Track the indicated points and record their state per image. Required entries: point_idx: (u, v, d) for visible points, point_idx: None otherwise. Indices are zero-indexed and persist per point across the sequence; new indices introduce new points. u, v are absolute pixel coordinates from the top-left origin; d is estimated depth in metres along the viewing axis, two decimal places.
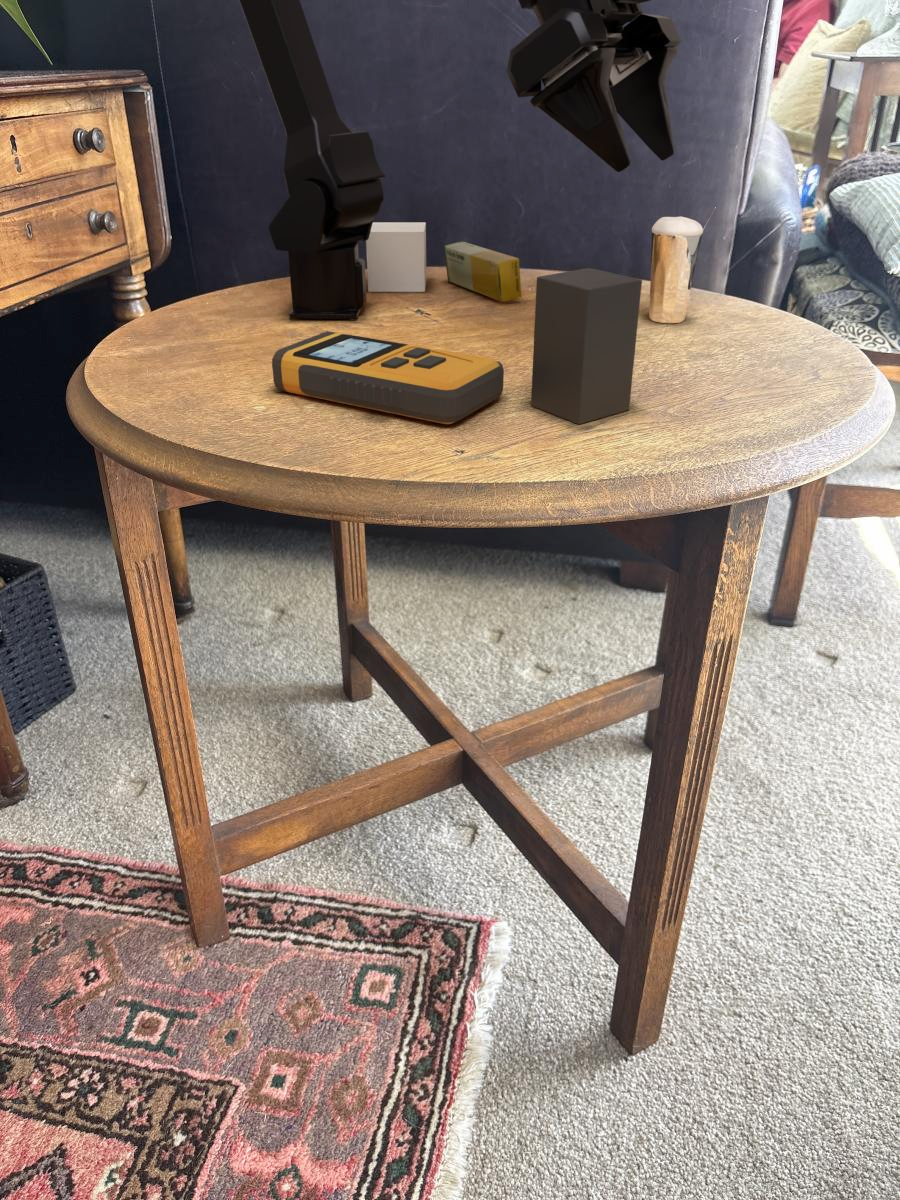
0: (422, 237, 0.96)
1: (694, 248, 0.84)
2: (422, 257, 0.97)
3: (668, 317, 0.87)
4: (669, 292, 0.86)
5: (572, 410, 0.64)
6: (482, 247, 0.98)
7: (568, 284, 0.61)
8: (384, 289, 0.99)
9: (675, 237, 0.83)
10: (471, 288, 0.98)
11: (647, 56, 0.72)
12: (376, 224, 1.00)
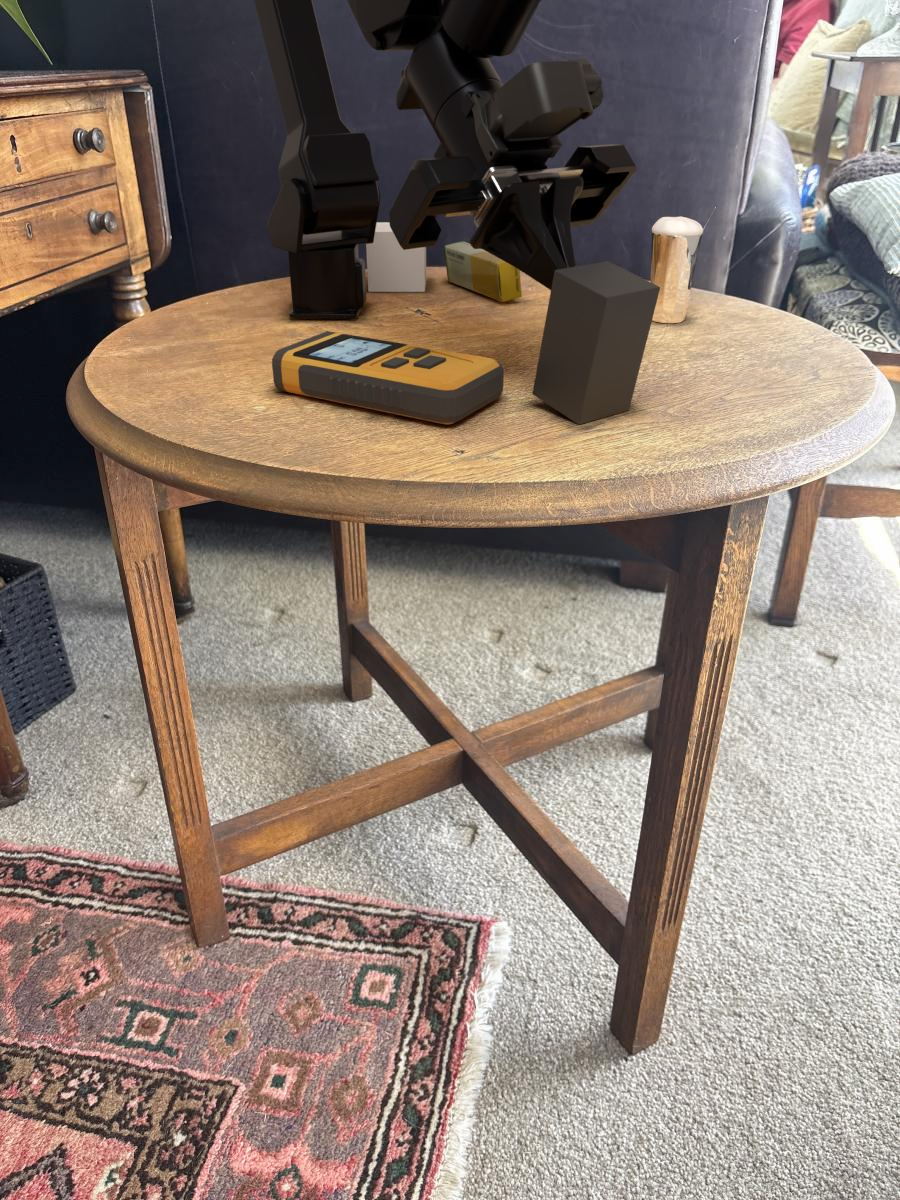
0: None
1: (694, 248, 0.84)
2: (422, 257, 0.97)
3: (668, 317, 0.87)
4: (669, 292, 0.86)
5: (573, 409, 0.64)
6: None
7: (586, 287, 0.60)
8: (384, 289, 0.99)
9: (675, 237, 0.83)
10: (471, 288, 0.98)
11: (544, 192, 0.65)
12: (376, 224, 1.00)
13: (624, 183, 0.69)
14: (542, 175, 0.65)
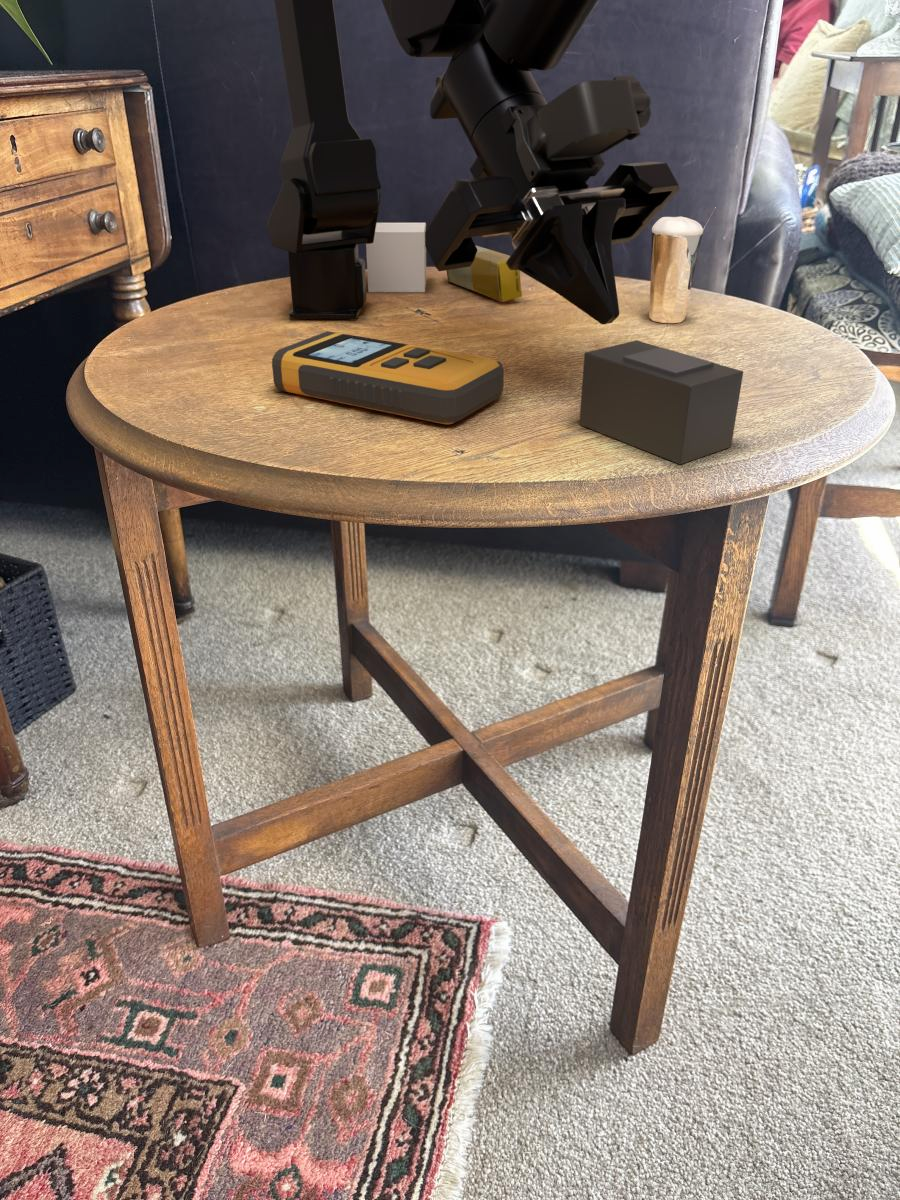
0: (422, 237, 0.96)
1: (694, 248, 0.84)
2: (422, 257, 0.97)
3: (668, 317, 0.87)
4: (669, 292, 0.86)
5: (588, 417, 0.63)
6: (482, 247, 0.98)
7: (684, 436, 0.57)
8: (384, 289, 0.99)
9: (675, 237, 0.83)
10: (471, 288, 0.98)
11: (585, 212, 0.63)
12: (376, 224, 1.00)
13: (665, 202, 0.67)
14: (583, 195, 0.63)
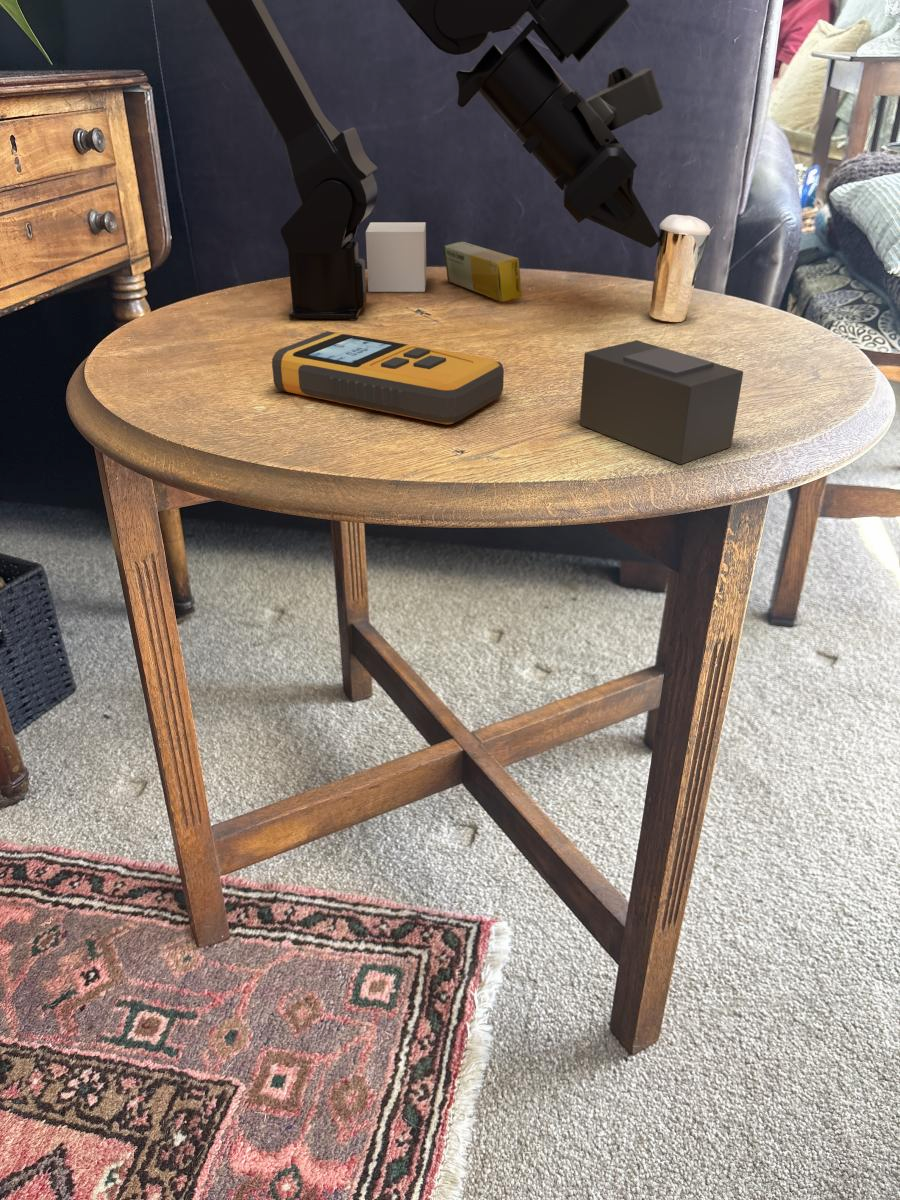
0: (422, 237, 0.96)
1: (700, 248, 0.84)
2: (422, 257, 0.97)
3: (669, 315, 0.87)
4: (672, 290, 0.86)
5: (588, 417, 0.63)
6: (482, 247, 0.98)
7: (684, 436, 0.57)
8: (384, 289, 0.99)
9: (683, 235, 0.83)
10: (471, 288, 0.98)
11: None
12: (376, 224, 1.00)
13: None
14: None
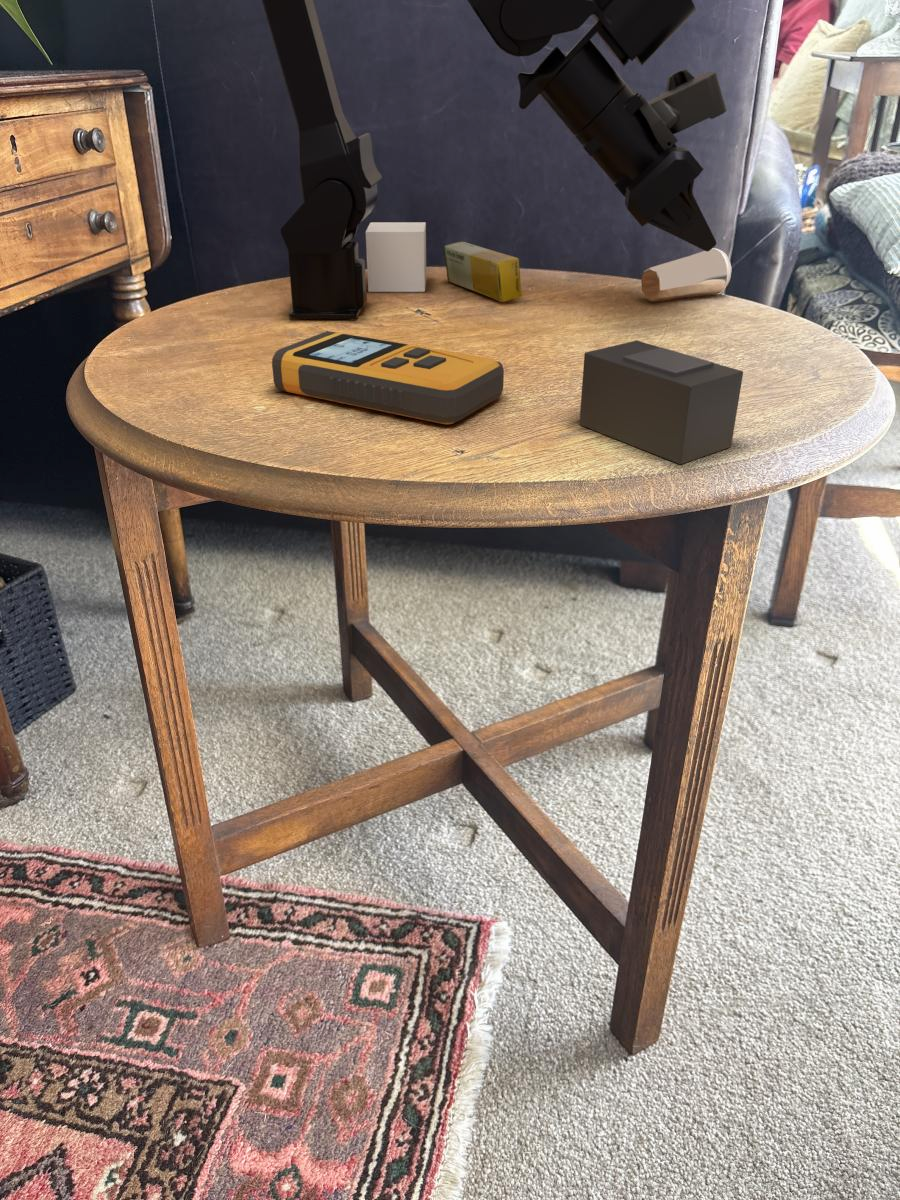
0: (422, 237, 0.96)
1: None
2: (422, 257, 0.97)
3: None
4: None
5: (588, 417, 0.63)
6: (482, 247, 0.98)
7: (684, 436, 0.57)
8: (384, 289, 0.99)
9: None
10: (471, 288, 0.98)
11: None
12: (376, 224, 1.00)
13: None
14: None
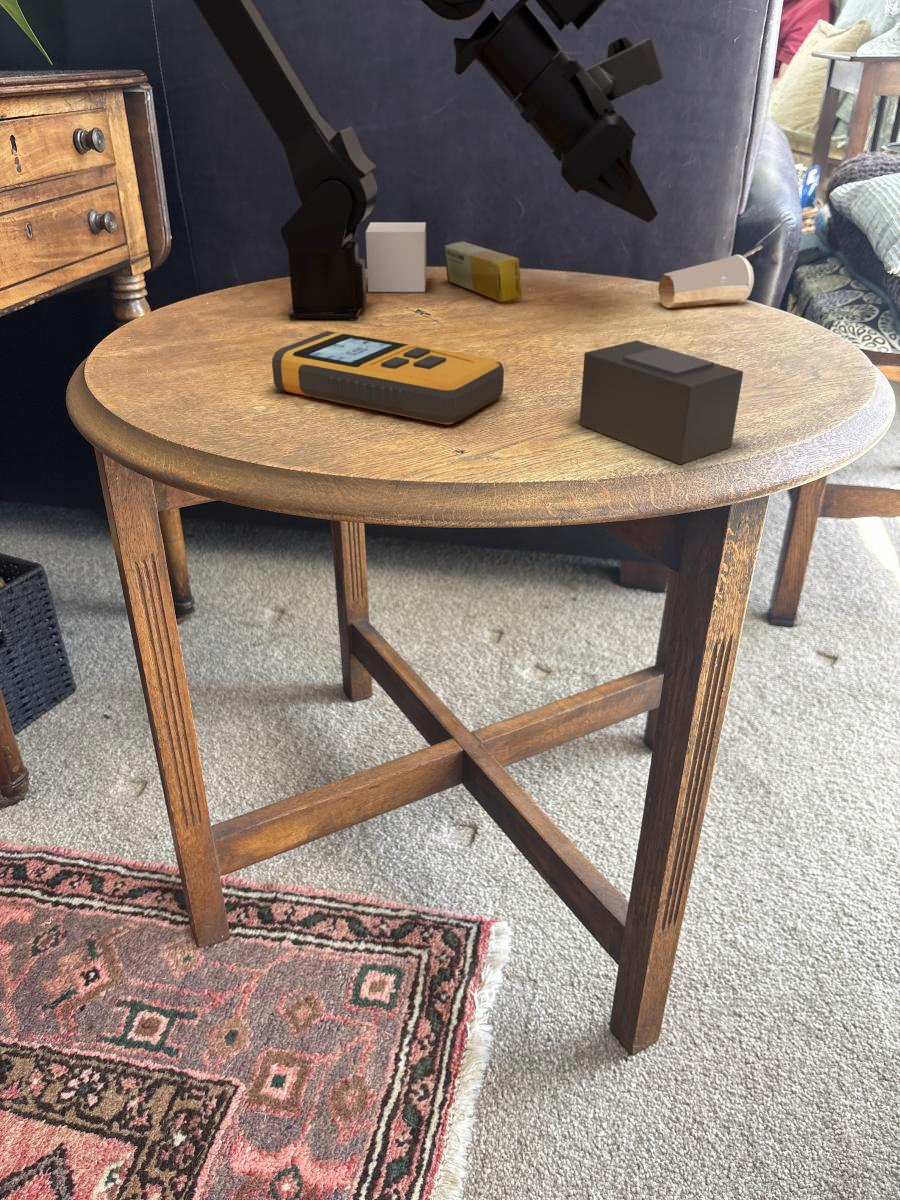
0: (422, 237, 0.96)
1: None
2: (422, 257, 0.97)
3: None
4: None
5: (588, 417, 0.63)
6: (482, 247, 0.98)
7: (684, 436, 0.57)
8: (384, 289, 0.99)
9: None
10: (471, 288, 0.98)
11: None
12: (376, 224, 1.00)
13: None
14: None
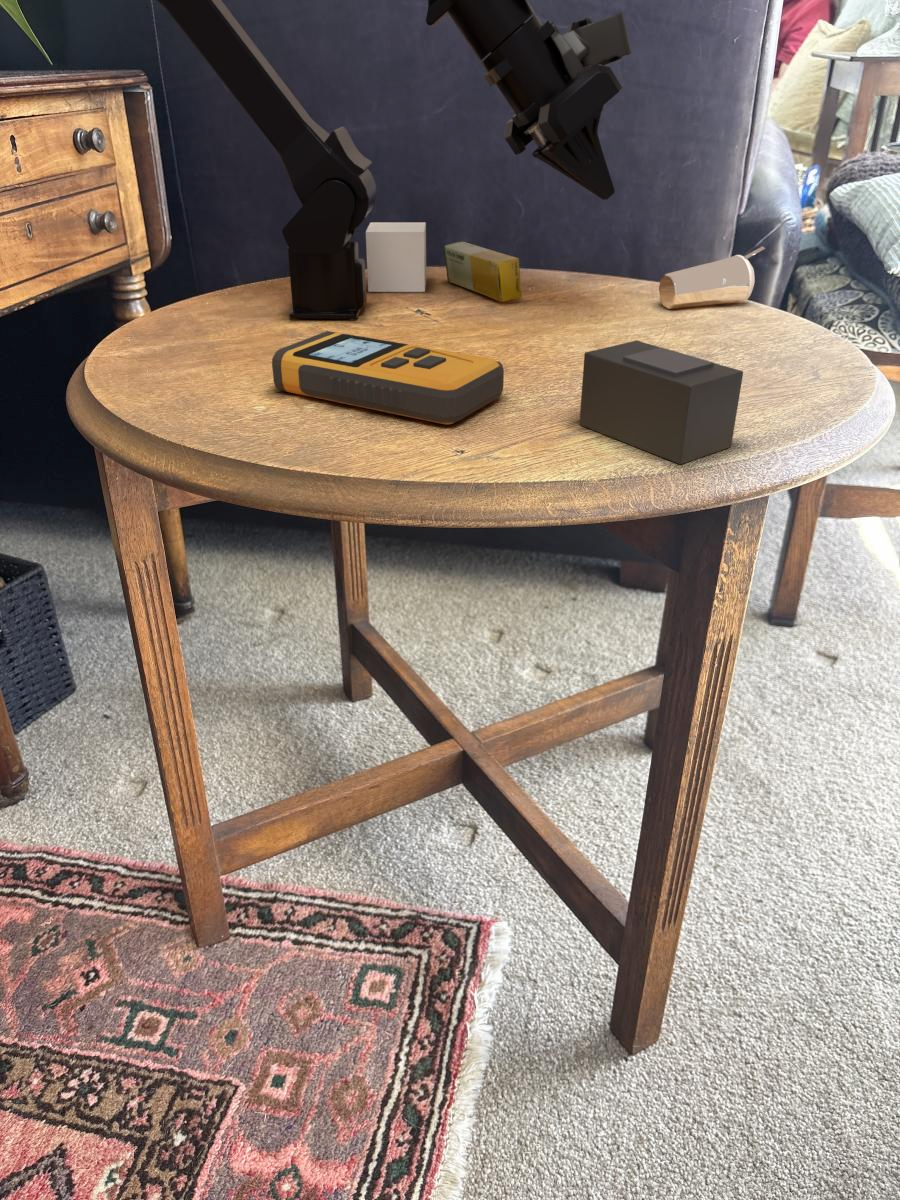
0: (422, 237, 0.96)
1: None
2: (422, 257, 0.97)
3: None
4: None
5: (588, 417, 0.63)
6: (481, 247, 0.98)
7: (684, 436, 0.57)
8: (384, 289, 0.99)
9: None
10: (471, 288, 0.98)
11: None
12: (376, 224, 1.00)
13: None
14: None
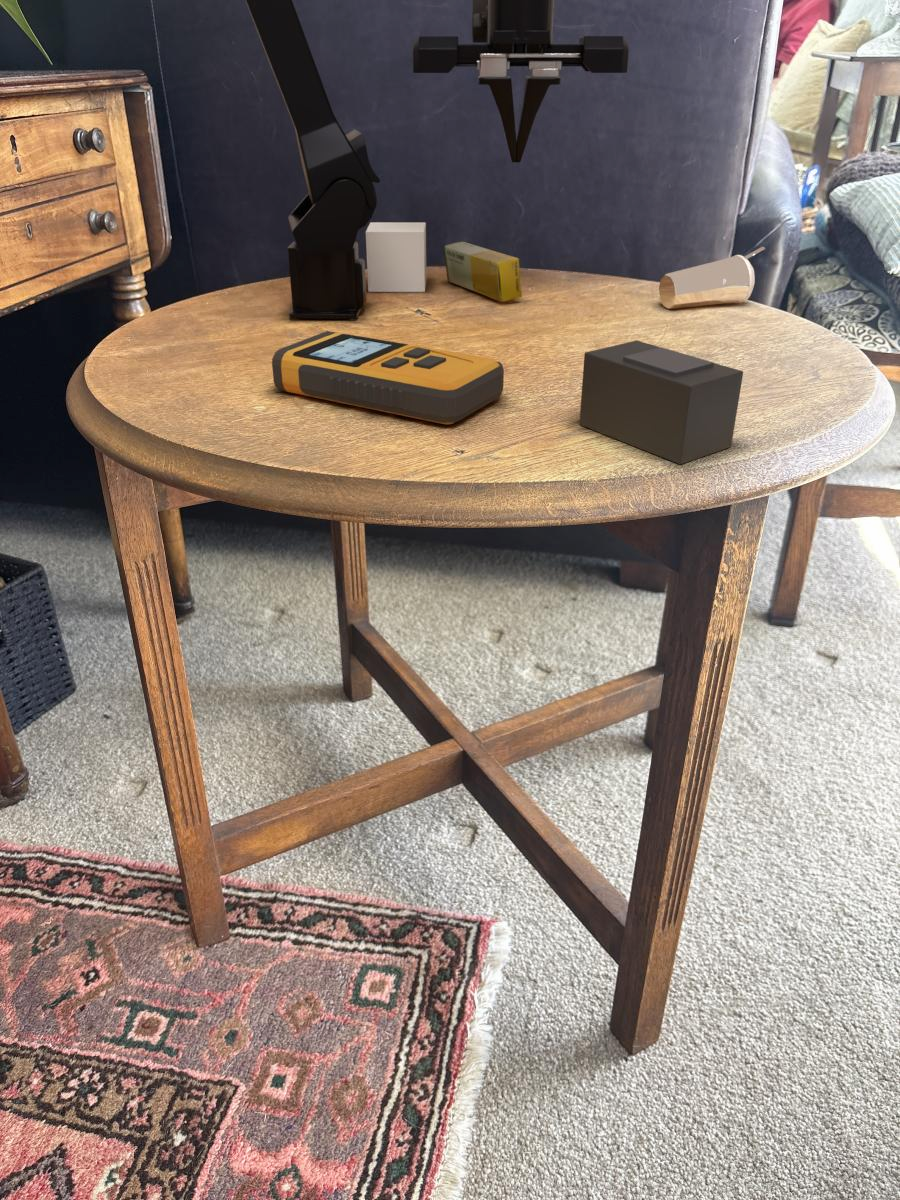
0: (422, 237, 0.96)
1: None
2: (422, 257, 0.97)
3: None
4: None
5: (588, 417, 0.63)
6: (481, 247, 0.98)
7: (684, 436, 0.57)
8: (384, 289, 0.99)
9: None
10: (471, 288, 0.98)
11: None
12: (376, 224, 1.00)
13: None
14: None
